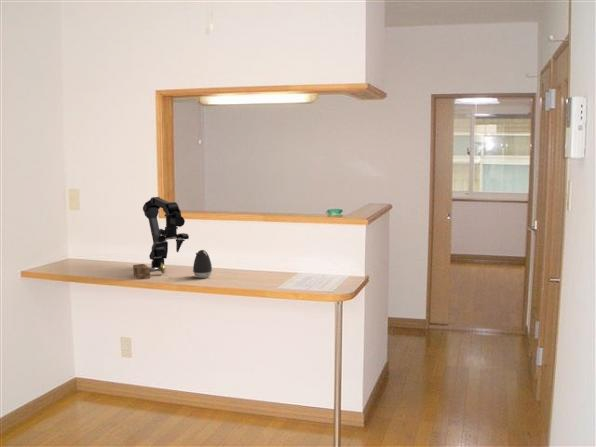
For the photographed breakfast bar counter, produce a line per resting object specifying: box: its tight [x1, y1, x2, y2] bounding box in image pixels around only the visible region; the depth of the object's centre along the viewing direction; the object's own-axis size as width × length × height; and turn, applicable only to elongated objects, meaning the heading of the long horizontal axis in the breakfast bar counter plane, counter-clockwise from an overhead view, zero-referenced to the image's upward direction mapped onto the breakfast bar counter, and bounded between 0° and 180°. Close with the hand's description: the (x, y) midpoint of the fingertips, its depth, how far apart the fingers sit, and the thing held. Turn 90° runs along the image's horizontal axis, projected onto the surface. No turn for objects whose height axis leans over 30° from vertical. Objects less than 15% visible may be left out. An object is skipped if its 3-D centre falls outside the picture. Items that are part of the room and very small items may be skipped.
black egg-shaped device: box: [192, 249, 213, 279], centre depth 333 cm, size 10×10×15 cm
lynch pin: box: [150, 263, 166, 274], centre depth 338 cm, size 10×5×6 cm, turn 118°
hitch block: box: [132, 263, 151, 280], centre depth 335 cm, size 6×12×6 cm, turn 28°
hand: (172, 252), depth 342 cm, fingers open, 6 cm apart
